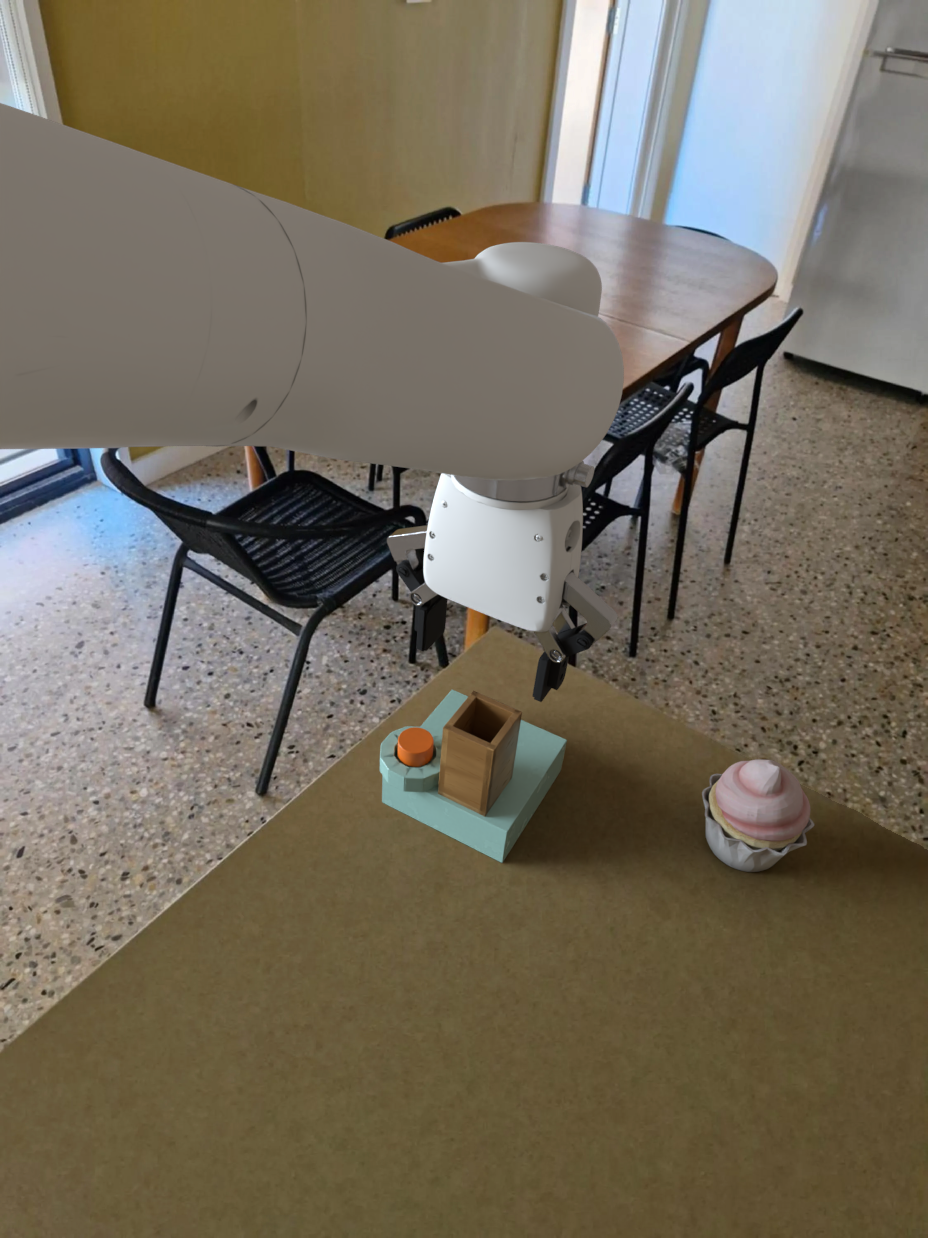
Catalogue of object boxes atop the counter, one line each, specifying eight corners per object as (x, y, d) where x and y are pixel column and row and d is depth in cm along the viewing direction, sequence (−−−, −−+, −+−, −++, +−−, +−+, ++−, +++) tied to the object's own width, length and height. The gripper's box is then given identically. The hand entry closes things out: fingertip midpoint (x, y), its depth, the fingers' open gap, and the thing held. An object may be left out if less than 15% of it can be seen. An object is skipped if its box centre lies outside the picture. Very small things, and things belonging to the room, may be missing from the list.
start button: (421, 772, 74) (421, 758, 73) (390, 758, 75) (391, 744, 74) (439, 750, 76) (440, 736, 75) (409, 736, 77) (410, 722, 76)
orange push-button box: (497, 871, 74) (504, 826, 70) (366, 805, 78) (366, 759, 74) (560, 770, 83) (570, 725, 79) (440, 716, 87) (444, 671, 83)
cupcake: (795, 904, 73) (836, 828, 67) (682, 870, 75) (711, 793, 69) (798, 818, 80) (835, 742, 74) (694, 789, 82) (722, 713, 76)
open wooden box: (485, 817, 73) (493, 750, 68) (437, 794, 74) (442, 727, 69) (512, 777, 76) (522, 711, 71) (466, 756, 78) (473, 690, 73)
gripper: (663, 476, 55) (613, 680, 66) (424, 400, 61) (413, 599, 71) (619, 530, 50) (572, 742, 60) (362, 441, 56) (361, 649, 66)
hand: (486, 664), depth 66 cm, fingers open, 9 cm apart
